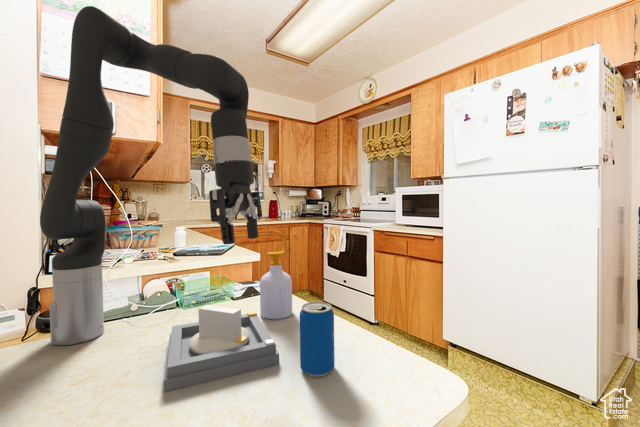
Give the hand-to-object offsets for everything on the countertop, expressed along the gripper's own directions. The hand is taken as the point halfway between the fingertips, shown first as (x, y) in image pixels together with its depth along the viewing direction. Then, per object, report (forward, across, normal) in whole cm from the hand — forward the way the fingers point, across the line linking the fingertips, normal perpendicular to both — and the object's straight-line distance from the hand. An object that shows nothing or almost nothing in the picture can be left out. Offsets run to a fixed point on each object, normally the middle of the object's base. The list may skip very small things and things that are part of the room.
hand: (242, 241), depth 59 cm
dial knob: (+21, 0, -8) cm, 23 cm away
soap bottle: (+24, -23, -7) cm, 34 cm away
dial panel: (+23, 0, -8) cm, 25 cm away
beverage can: (+26, 0, +14) cm, 29 cm away
